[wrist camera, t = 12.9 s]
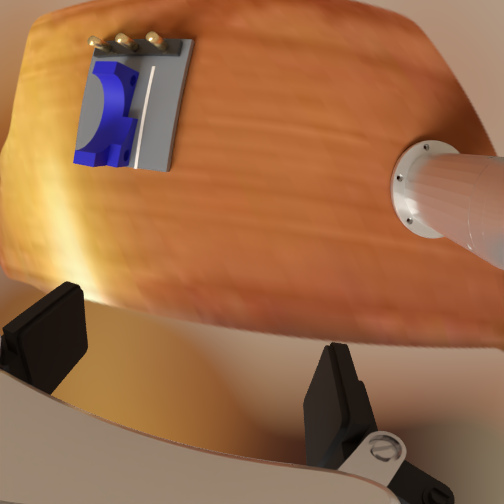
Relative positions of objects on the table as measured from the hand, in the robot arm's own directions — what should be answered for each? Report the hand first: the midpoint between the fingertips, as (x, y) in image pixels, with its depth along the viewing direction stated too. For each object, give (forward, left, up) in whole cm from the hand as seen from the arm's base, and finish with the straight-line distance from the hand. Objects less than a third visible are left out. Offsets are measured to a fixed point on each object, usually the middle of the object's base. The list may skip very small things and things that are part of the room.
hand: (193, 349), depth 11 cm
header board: (+18, -11, -28) cm, 35 cm away
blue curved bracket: (+18, -9, -27) cm, 34 cm away
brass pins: (+18, -18, -27) cm, 37 cm away
